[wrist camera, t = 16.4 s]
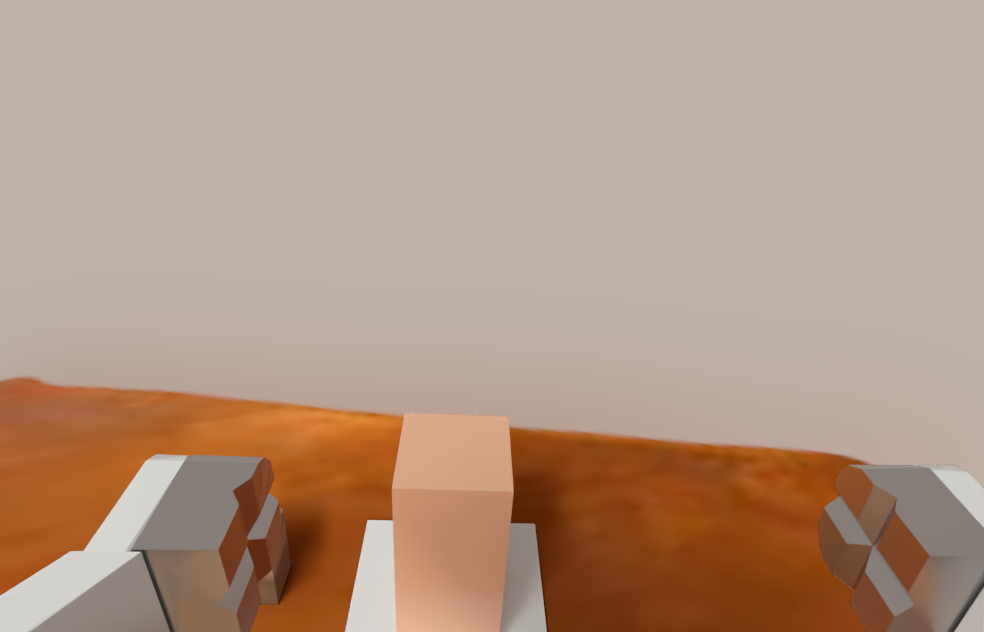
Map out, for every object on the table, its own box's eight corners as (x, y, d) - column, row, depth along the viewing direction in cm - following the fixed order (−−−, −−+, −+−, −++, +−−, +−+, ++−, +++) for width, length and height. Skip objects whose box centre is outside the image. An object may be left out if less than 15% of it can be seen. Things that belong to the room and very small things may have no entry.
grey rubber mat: (534, 527, 44) (534, 523, 44) (552, 698, 33) (553, 694, 33) (367, 523, 43) (367, 520, 43) (333, 696, 33) (332, 692, 33)
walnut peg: (291, 563, 40) (283, 509, 38) (278, 604, 37) (268, 548, 35) (245, 562, 40) (233, 507, 38) (228, 603, 37) (215, 547, 35)
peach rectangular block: (496, 557, 41) (508, 416, 35) (498, 642, 36) (513, 491, 30) (407, 555, 41) (404, 412, 35) (396, 640, 35) (391, 488, 30)
